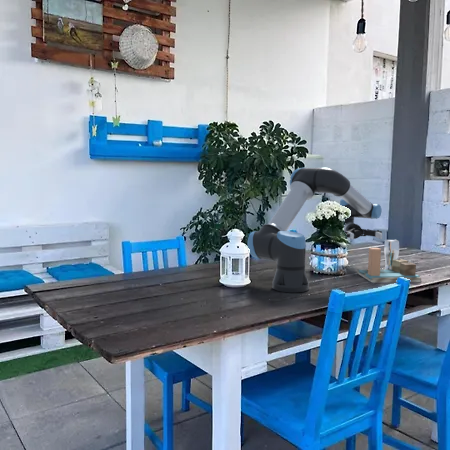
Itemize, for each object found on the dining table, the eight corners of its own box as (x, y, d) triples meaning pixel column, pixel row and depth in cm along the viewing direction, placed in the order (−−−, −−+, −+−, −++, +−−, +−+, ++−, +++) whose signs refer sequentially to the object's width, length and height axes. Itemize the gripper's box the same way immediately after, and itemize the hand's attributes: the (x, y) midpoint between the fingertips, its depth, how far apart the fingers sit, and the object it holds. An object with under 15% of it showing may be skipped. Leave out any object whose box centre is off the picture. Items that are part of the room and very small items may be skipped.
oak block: (399, 272, 217) (399, 261, 217) (392, 270, 222) (392, 259, 222) (408, 271, 219) (408, 261, 218) (400, 269, 224) (401, 259, 223)
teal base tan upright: (371, 279, 207) (372, 249, 206) (365, 275, 214) (366, 247, 212) (419, 278, 208) (421, 249, 207) (412, 275, 215) (413, 246, 214)
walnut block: (404, 275, 209) (405, 264, 208) (399, 273, 214) (400, 262, 213) (415, 275, 209) (416, 264, 209) (410, 273, 214) (410, 262, 214)
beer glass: (399, 272, 228) (400, 241, 226) (384, 271, 229) (385, 241, 228) (397, 269, 235) (398, 239, 233) (382, 268, 236) (383, 239, 235)
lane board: (372, 282, 206) (372, 277, 205) (357, 273, 225) (357, 269, 224) (421, 282, 207) (421, 277, 207) (402, 273, 226) (402, 268, 226)
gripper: (375, 237, 242) (392, 243, 221) (328, 238, 241) (340, 244, 220) (376, 223, 241) (393, 228, 220) (328, 223, 240) (341, 228, 219)
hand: (367, 236), depth 220 cm, fingers open, 13 cm apart
